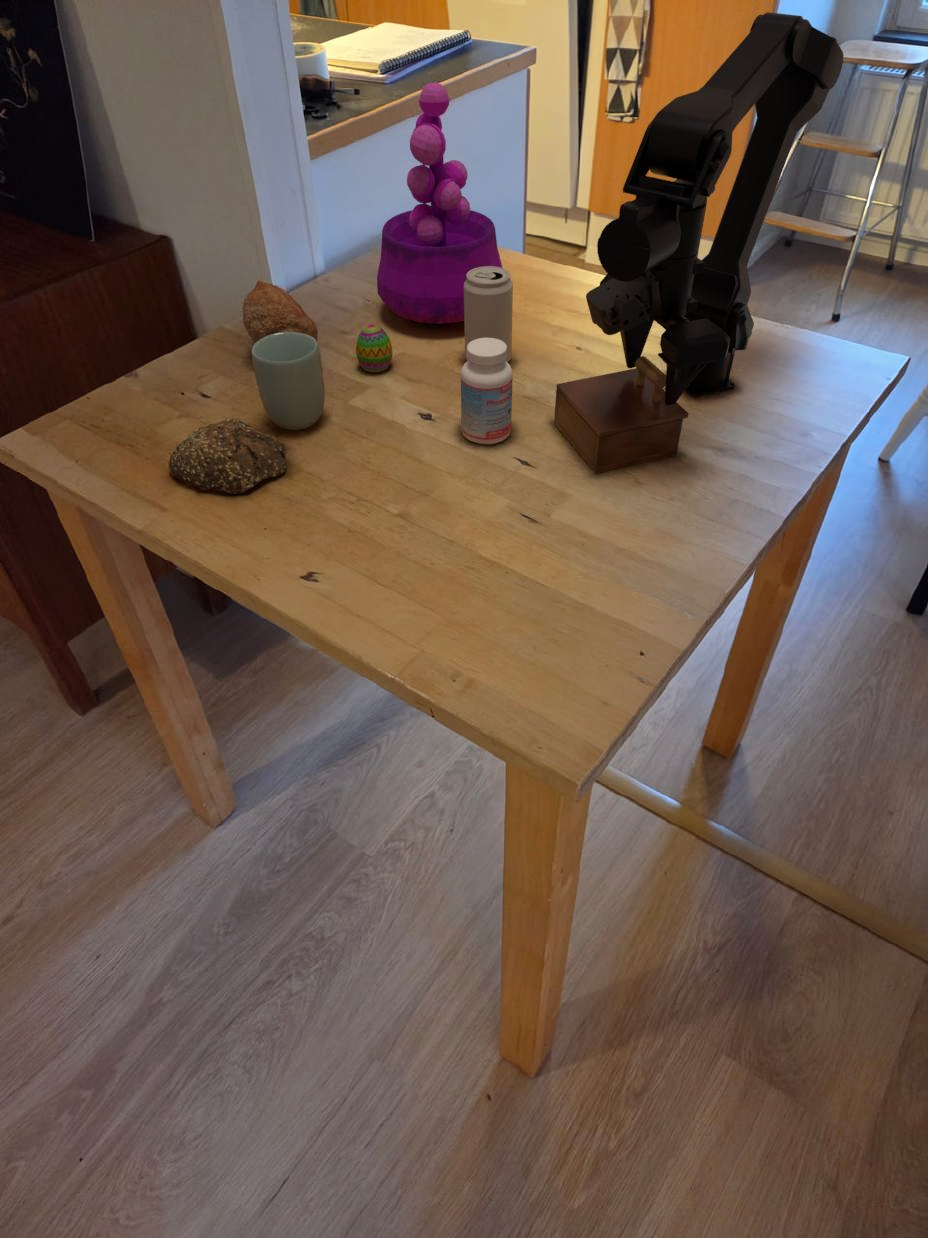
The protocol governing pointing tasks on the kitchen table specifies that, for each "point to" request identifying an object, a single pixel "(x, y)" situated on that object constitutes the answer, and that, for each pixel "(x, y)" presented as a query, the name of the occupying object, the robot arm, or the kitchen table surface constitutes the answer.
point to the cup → (289, 379)
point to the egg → (374, 349)
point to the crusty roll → (274, 313)
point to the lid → (622, 399)
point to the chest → (615, 440)
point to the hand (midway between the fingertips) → (649, 385)
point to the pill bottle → (486, 392)
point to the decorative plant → (433, 229)
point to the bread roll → (227, 457)
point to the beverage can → (488, 306)
